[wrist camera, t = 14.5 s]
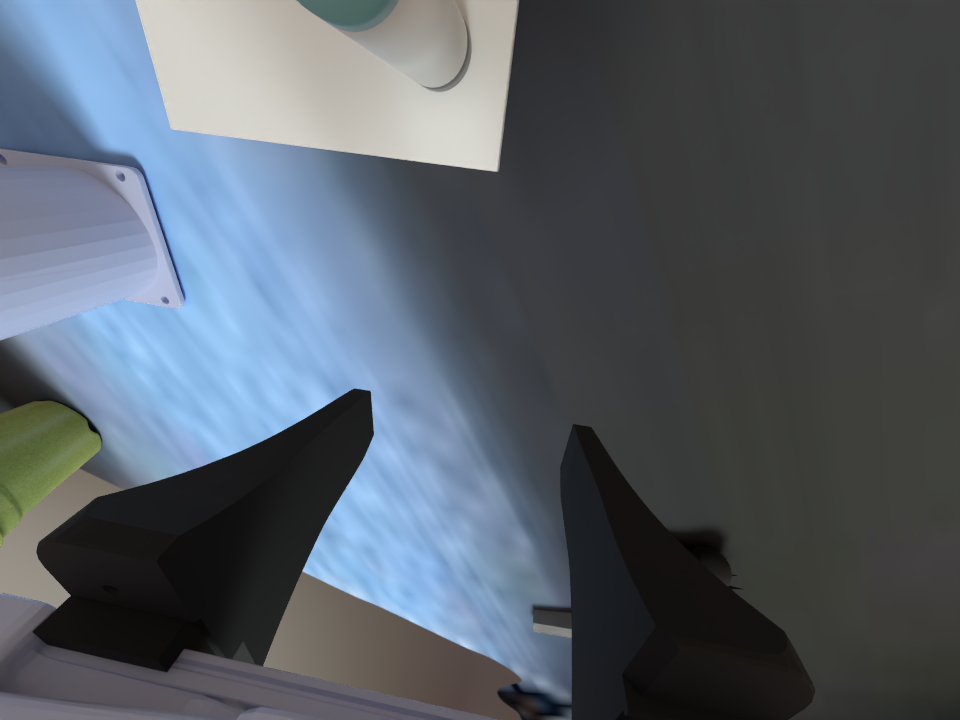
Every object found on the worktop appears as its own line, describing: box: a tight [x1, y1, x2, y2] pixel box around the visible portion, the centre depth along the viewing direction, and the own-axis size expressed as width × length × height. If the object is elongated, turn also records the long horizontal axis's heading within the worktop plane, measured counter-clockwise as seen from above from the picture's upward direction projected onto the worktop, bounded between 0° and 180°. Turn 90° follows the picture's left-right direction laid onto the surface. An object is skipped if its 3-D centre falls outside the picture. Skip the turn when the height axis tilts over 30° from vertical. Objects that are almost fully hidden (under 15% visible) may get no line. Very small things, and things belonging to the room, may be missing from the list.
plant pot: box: [0, 401, 102, 547], centre depth 27 cm, size 9×9×9 cm
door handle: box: [533, 546, 741, 638], centre depth 32 cm, size 3×20×16 cm
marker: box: [297, 0, 472, 92], centre depth 10 cm, size 3×3×9 cm
